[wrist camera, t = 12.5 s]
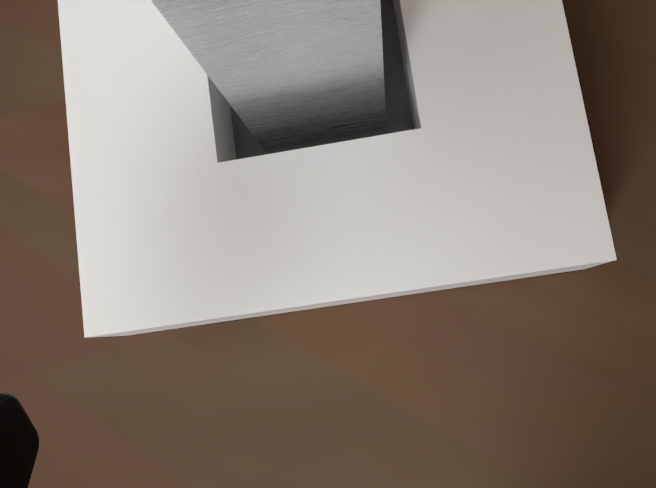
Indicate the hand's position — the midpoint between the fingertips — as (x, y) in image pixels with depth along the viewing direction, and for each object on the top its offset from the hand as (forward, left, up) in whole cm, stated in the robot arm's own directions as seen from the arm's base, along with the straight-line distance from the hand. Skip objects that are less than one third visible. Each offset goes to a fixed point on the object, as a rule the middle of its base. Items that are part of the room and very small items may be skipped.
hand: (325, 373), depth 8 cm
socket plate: (+2, +9, -12) cm, 16 cm away
